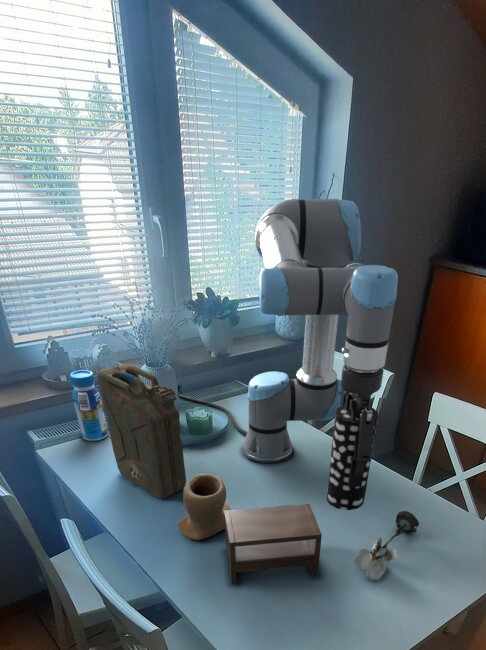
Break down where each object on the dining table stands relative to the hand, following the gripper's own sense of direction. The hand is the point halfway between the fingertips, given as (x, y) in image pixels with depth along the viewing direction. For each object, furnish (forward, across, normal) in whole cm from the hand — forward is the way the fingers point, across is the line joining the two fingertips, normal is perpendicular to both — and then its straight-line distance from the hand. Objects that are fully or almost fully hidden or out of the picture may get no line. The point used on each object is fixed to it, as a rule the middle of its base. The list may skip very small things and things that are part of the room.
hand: (348, 474), depth 109 cm
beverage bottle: (+23, -72, -62) cm, 98 cm away
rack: (+23, 0, -16) cm, 28 cm away
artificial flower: (+23, +1, +12) cm, 26 cm away
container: (+23, -41, -44) cm, 64 cm away
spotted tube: (+7, 0, 0) cm, 7 cm away
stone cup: (+23, -16, -29) cm, 40 cm away
